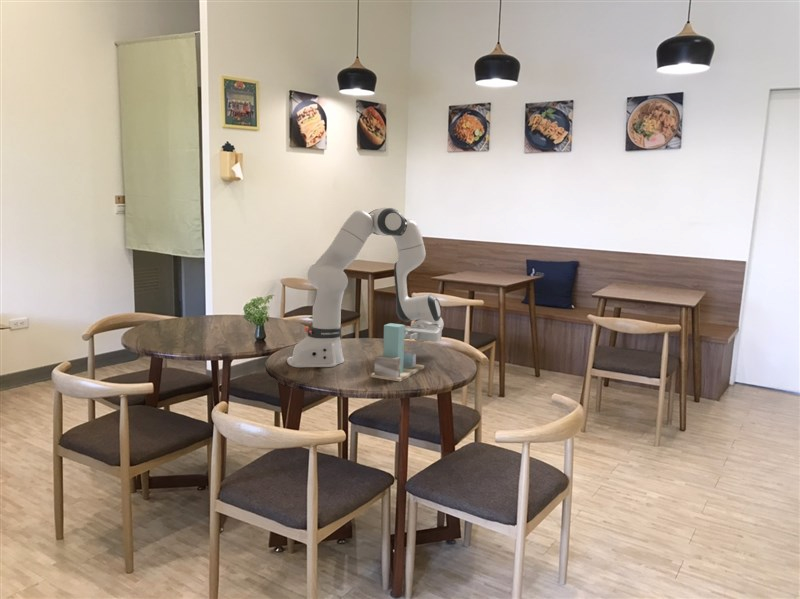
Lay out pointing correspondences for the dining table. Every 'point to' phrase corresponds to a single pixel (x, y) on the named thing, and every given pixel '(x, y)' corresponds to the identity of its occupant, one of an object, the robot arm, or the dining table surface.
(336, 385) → the dining table surface
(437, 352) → the dining table surface
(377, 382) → the dining table surface
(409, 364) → the block
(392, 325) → the teal block
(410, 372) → the vise base
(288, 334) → the dining table surface
